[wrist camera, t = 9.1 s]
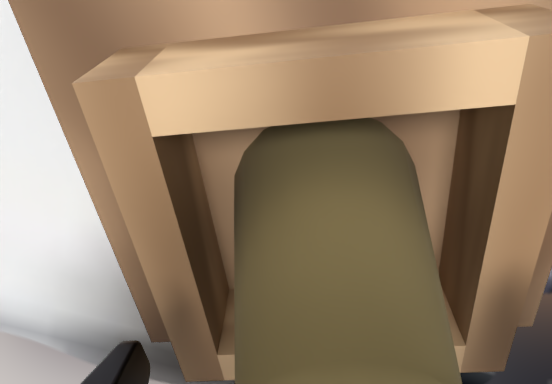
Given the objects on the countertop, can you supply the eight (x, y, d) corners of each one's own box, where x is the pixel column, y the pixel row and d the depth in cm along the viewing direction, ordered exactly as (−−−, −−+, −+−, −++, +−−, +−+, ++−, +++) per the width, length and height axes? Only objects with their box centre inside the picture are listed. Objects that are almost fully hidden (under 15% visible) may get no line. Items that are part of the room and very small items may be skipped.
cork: (344, 285, 16) (412, 781, 7) (202, 217, 14) (37, 732, 5) (457, 169, 13) (854, 760, 4) (295, 69, 12) (293, 633, 2)
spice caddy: (159, 320, 19) (129, 409, 16) (31, -10, 12) (-81, 18, 8) (518, 303, 18) (574, 396, 14) (630, -86, 10) (804, -91, 7)
